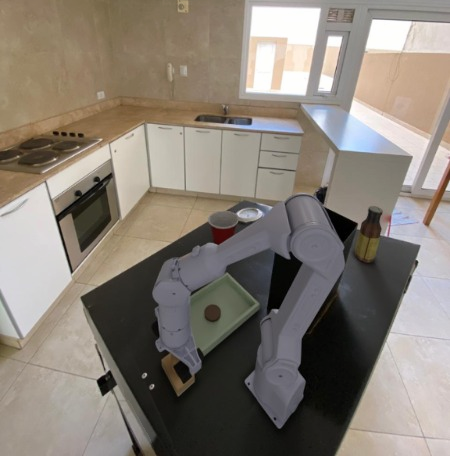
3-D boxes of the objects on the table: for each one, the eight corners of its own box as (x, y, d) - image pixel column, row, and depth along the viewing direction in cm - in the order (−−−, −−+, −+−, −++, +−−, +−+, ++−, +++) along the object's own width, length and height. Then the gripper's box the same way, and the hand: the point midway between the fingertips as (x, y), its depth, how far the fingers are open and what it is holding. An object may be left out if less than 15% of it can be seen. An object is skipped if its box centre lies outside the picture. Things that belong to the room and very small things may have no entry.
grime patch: (224, 315, 67) (224, 313, 66) (211, 325, 64) (211, 323, 64) (214, 303, 70) (214, 301, 69) (201, 312, 67) (201, 310, 67)
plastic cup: (223, 231, 99) (224, 205, 95) (243, 246, 92) (245, 219, 87) (201, 244, 92) (201, 216, 88) (220, 261, 85) (222, 232, 80)
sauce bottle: (374, 255, 90) (389, 208, 83) (372, 266, 85) (389, 217, 78) (354, 248, 94) (367, 201, 86) (351, 258, 89) (365, 210, 81)
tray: (259, 310, 69) (259, 303, 68) (192, 367, 56) (192, 360, 55) (226, 278, 78) (227, 272, 77) (163, 320, 65) (162, 313, 64)
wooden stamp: (194, 382, 53) (194, 357, 50) (178, 397, 51) (176, 371, 47) (177, 354, 58) (176, 329, 55) (161, 366, 56) (159, 341, 52)
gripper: (139, 301, 50) (144, 345, 55) (176, 366, 40) (178, 413, 45) (170, 283, 55) (172, 326, 60) (211, 337, 44) (209, 383, 49)
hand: (177, 362), depth 53 cm, fingers open, 7 cm apart
